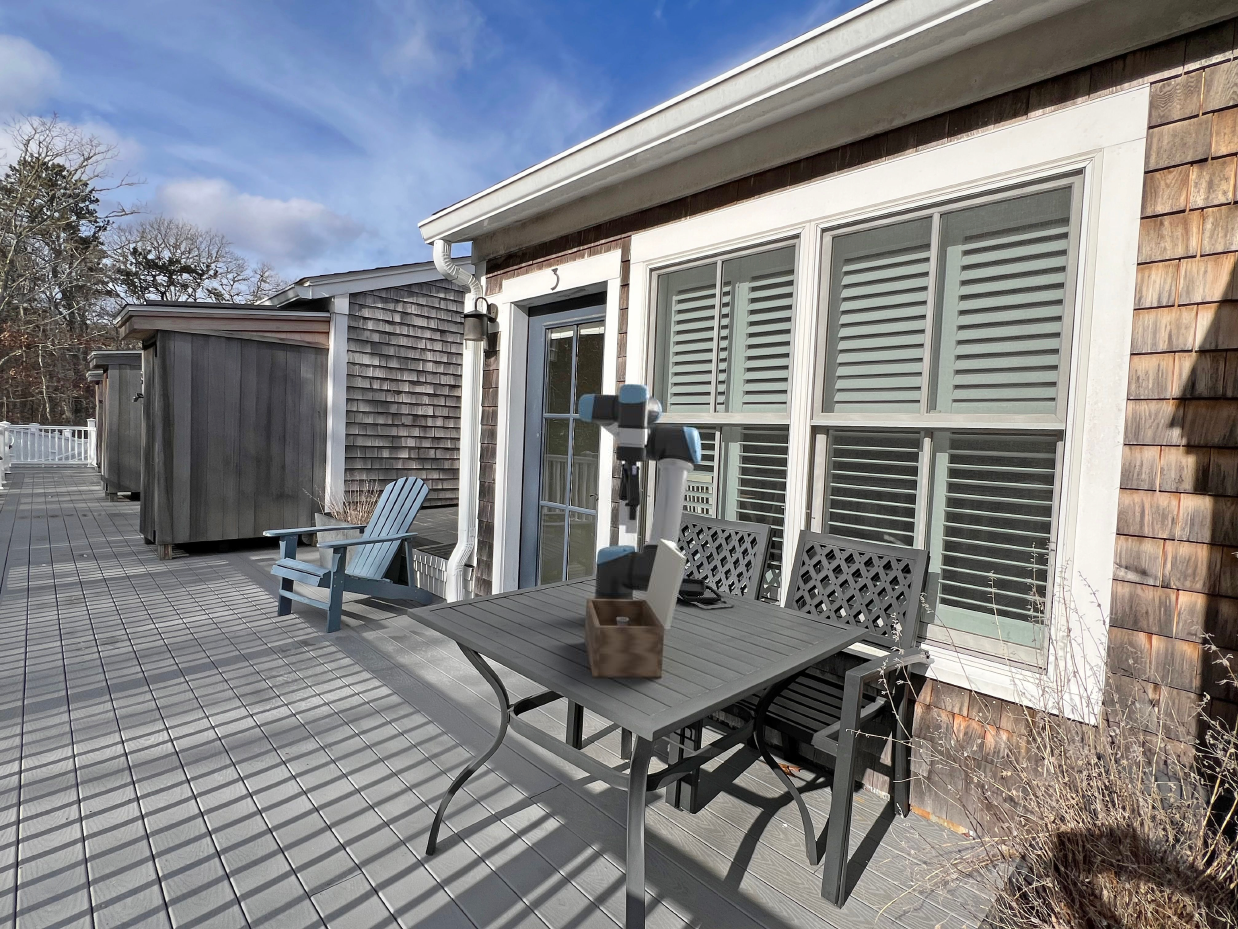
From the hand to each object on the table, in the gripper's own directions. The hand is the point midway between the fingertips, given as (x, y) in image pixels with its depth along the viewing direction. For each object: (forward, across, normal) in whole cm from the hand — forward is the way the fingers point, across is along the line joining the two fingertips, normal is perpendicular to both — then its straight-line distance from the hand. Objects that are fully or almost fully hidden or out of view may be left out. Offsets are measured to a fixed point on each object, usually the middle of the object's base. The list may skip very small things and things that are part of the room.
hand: (627, 529), depth 166 cm
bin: (+33, 0, 0) cm, 33 cm away
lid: (+13, 0, +10) cm, 16 cm away
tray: (+34, -63, +34) cm, 79 cm away
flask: (+33, 0, 0) cm, 33 cm away
